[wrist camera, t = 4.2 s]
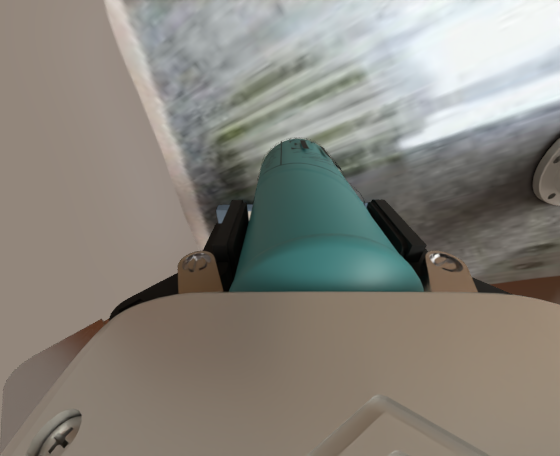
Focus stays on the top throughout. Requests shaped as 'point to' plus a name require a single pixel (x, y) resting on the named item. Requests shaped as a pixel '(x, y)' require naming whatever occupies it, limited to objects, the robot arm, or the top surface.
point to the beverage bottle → (314, 231)
